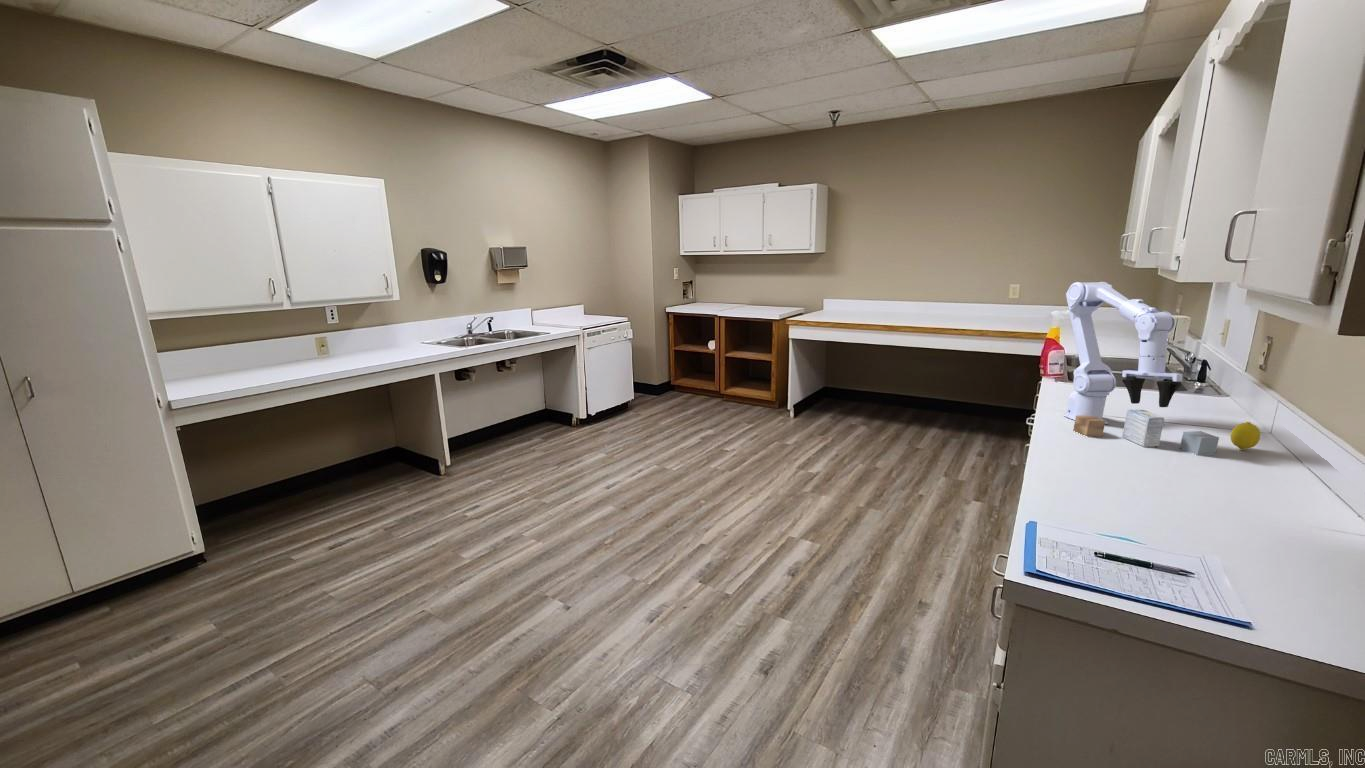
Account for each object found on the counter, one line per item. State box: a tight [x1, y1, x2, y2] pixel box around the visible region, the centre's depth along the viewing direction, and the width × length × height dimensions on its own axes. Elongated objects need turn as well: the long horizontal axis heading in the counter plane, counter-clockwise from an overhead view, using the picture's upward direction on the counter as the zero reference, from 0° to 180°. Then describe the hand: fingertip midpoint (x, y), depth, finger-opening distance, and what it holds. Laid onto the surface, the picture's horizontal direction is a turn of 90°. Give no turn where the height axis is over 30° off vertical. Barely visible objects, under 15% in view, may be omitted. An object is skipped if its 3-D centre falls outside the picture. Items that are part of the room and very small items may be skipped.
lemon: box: [1230, 421, 1261, 451], centre depth 148 cm, size 6×6×8 cm
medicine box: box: [1121, 408, 1165, 448], centre depth 154 cm, size 8×4×9 cm, turn 179°
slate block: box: [1179, 430, 1220, 456], centre depth 148 cm, size 5×5×5 cm
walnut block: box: [1072, 415, 1106, 437], centre depth 162 cm, size 5×5×5 cm
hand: (1149, 405), depth 152 cm, fingers open, 7 cm apart
